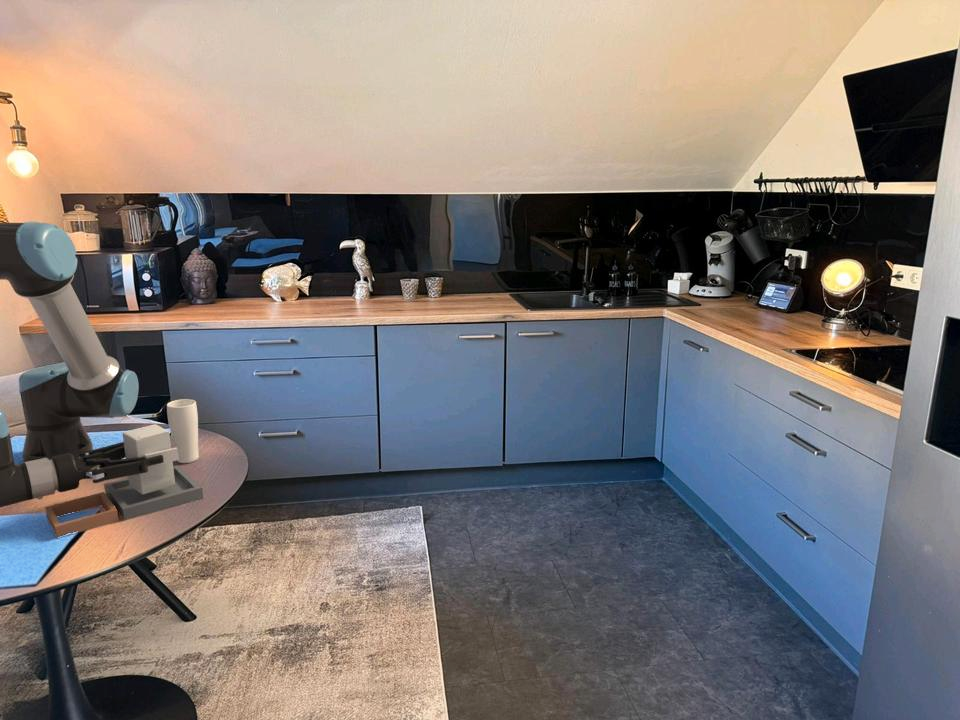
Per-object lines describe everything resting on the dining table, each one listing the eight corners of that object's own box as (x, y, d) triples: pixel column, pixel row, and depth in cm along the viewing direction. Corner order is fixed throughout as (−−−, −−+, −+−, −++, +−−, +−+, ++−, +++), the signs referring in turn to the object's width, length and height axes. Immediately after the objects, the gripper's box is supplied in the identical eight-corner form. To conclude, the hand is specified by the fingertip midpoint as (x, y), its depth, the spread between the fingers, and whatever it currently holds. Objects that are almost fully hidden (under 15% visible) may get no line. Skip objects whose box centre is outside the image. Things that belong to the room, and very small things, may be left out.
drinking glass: (191, 466, 167) (185, 408, 163) (167, 464, 168) (160, 406, 165) (207, 455, 174) (201, 399, 170) (183, 453, 175) (177, 398, 171)
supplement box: (176, 485, 151) (170, 431, 148) (141, 495, 146) (134, 440, 142) (162, 475, 156) (156, 423, 153) (128, 485, 150) (121, 431, 147)
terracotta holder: (46, 518, 141) (44, 507, 141) (105, 502, 148) (103, 491, 148) (57, 538, 133) (55, 527, 133) (118, 521, 140) (117, 510, 140)
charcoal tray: (105, 494, 152) (103, 483, 152) (179, 474, 162) (178, 465, 162) (124, 520, 141) (122, 509, 140) (203, 497, 151) (202, 487, 150)
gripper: (46, 476, 146) (159, 450, 160) (66, 510, 131) (188, 478, 145) (41, 443, 144) (155, 420, 158) (60, 474, 129) (185, 445, 143)
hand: (171, 448), depth 152 cm, fingers closed on supplement box, 8 cm apart
